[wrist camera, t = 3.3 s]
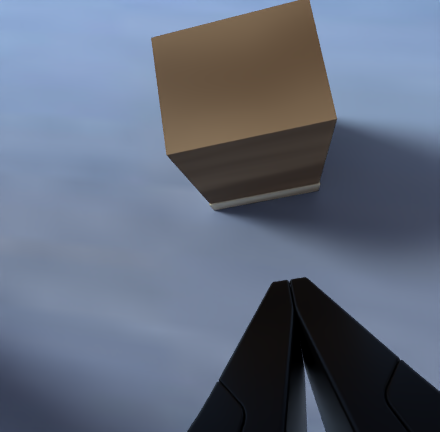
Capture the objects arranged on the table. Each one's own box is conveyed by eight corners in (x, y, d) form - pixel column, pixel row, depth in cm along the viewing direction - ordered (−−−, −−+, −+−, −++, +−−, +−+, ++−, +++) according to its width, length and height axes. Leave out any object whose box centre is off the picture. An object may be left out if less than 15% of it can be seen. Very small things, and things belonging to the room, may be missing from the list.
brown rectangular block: (318, 190, 19) (339, 120, 11) (214, 210, 19) (165, 156, 12) (301, 112, 20) (310, -4, 12) (202, 133, 20) (149, 36, 13)
